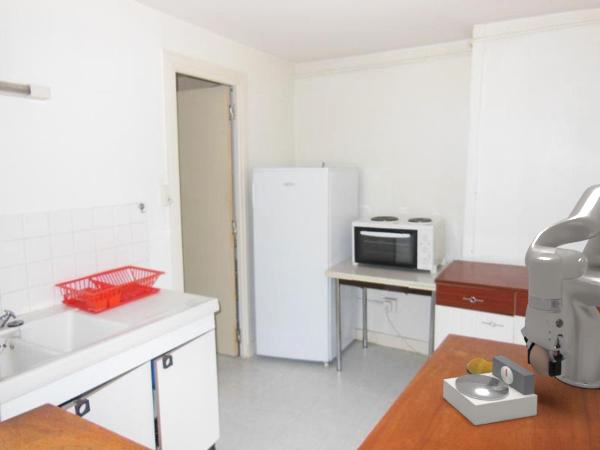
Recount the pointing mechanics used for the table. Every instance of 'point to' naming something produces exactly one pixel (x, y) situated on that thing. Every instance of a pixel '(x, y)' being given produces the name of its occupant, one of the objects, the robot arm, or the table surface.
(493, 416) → the kitchen scale
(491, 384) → the scale pan
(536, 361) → the egg
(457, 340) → the table surface
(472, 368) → the bread roll
